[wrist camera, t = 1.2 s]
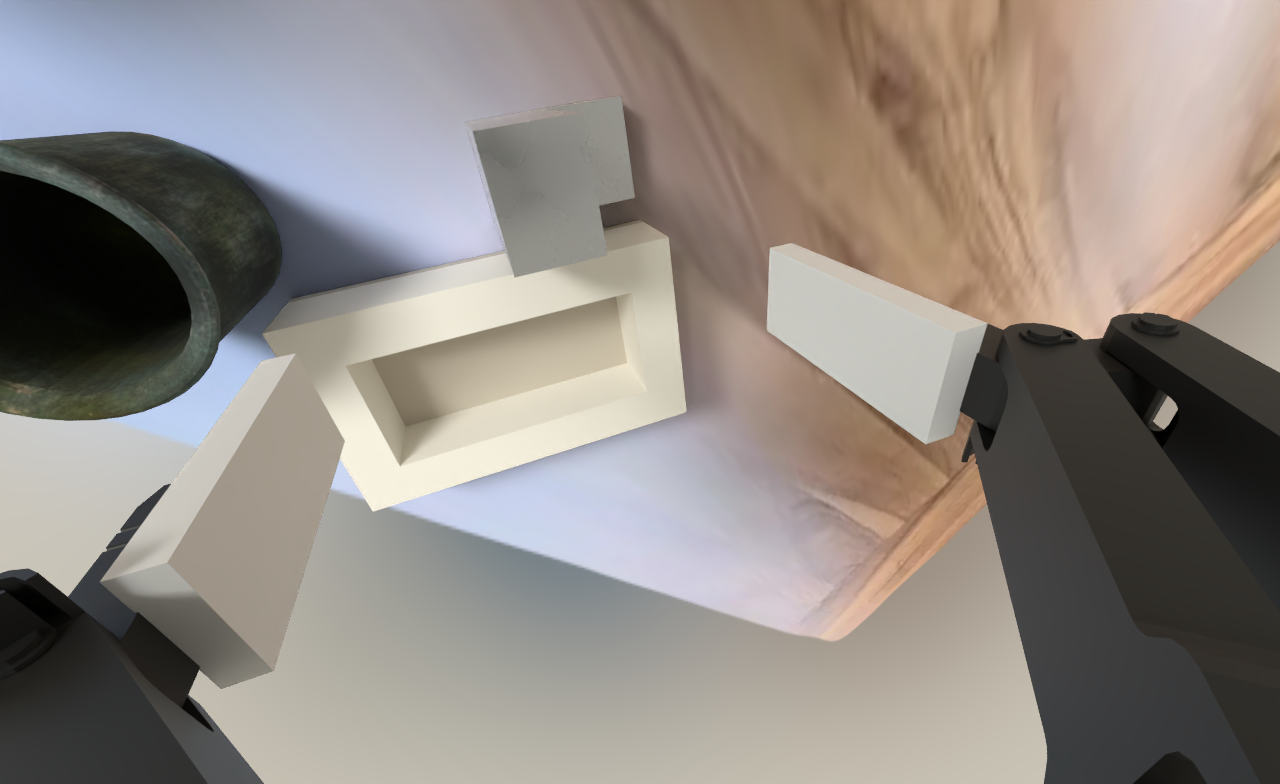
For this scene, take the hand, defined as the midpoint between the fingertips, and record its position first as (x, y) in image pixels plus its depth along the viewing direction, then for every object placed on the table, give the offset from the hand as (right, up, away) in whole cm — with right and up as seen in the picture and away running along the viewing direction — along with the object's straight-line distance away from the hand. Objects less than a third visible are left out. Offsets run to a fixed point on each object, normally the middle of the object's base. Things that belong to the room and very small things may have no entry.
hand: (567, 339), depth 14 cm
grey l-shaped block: (-4, +14, +18) cm, 23 cm away
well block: (-8, +2, +24) cm, 25 cm away
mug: (-26, +8, +13) cm, 30 cm away
